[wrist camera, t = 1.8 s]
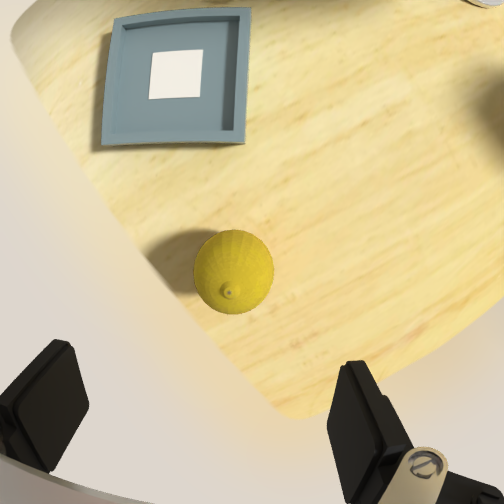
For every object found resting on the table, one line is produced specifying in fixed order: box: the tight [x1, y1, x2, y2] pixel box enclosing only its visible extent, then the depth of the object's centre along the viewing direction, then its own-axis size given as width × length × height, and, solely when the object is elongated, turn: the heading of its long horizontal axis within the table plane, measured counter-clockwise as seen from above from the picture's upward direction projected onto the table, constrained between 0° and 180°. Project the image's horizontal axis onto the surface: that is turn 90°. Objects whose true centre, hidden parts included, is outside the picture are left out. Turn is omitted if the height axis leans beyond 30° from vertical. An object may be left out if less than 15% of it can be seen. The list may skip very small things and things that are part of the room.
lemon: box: [193, 230, 274, 314], centre depth 22 cm, size 6×6×8 cm
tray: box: [101, 7, 251, 146], centre depth 21 cm, size 11×11×2 cm
